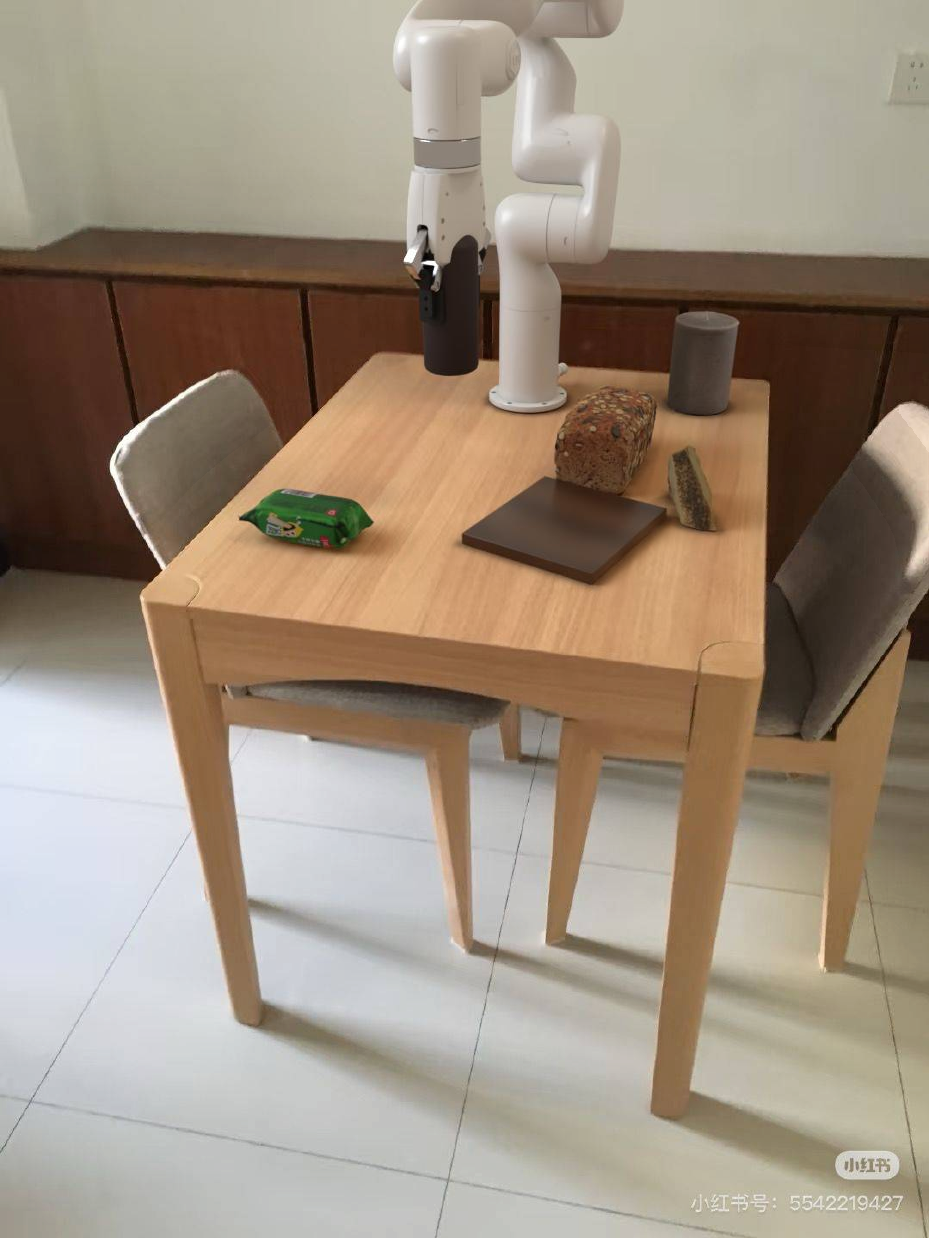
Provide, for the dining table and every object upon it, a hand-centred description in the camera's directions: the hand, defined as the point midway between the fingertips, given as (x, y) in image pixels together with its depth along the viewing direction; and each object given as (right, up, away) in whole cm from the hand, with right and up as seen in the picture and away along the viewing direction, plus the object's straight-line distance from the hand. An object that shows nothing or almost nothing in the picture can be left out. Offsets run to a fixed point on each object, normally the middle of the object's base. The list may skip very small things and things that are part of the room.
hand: (450, 313), depth 123 cm
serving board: (+14, -26, +5) cm, 30 cm away
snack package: (-18, -27, +4) cm, 32 cm away
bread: (+21, -16, +21) cm, 34 cm away
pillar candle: (+39, -2, +41) cm, 57 cm away
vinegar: (0, -6, +4) cm, 7 cm away
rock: (+31, -23, +9) cm, 40 cm away
